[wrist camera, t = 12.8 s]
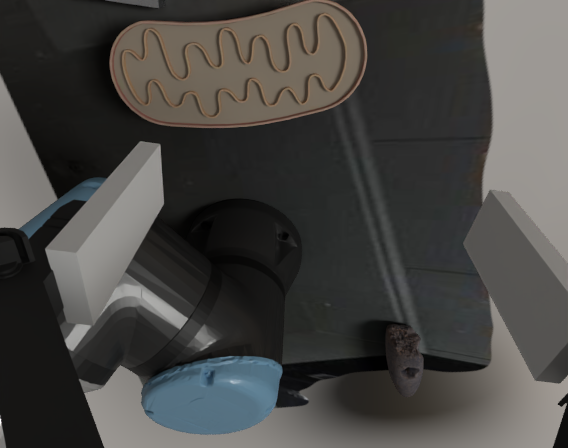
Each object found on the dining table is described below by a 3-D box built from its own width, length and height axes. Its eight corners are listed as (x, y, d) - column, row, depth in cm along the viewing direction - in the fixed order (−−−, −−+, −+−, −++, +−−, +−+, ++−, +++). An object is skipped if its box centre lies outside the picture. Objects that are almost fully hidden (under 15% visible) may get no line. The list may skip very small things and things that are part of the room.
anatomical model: (360, -14, 34) (367, -9, 30) (361, 98, 40) (366, 115, 36) (116, 18, 37) (92, 27, 33) (149, 119, 42) (132, 137, 38)
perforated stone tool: (416, 372, 66) (426, 411, 60) (384, 374, 67) (391, 413, 61) (417, 311, 57) (429, 351, 52) (381, 314, 58) (389, 354, 52)
